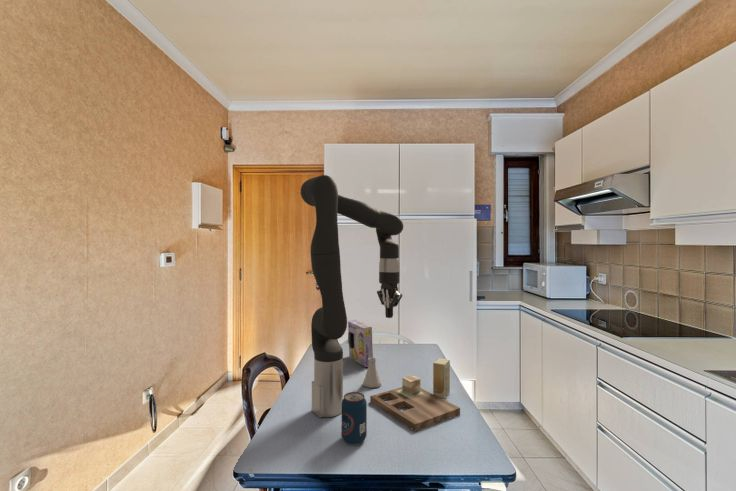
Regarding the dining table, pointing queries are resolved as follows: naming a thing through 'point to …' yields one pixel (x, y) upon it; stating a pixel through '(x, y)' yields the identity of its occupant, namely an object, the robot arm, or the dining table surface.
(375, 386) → the flask
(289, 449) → the dining table surface
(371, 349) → the cake pan box
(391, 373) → the dining table surface
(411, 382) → the birch block
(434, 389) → the skincare box
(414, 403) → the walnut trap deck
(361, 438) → the soda can
